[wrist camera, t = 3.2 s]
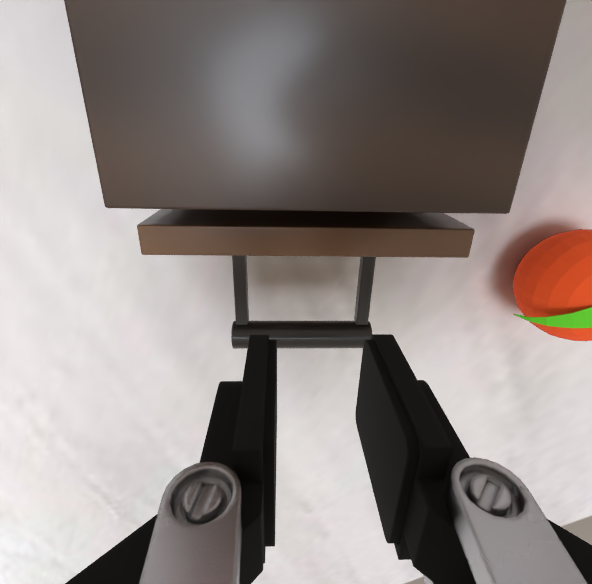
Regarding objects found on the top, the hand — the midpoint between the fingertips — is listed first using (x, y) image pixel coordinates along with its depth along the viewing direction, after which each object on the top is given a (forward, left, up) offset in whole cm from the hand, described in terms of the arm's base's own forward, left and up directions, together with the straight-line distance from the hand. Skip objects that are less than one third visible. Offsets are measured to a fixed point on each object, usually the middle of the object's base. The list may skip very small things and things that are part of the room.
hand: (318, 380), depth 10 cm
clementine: (-17, +2, -15) cm, 23 cm away
